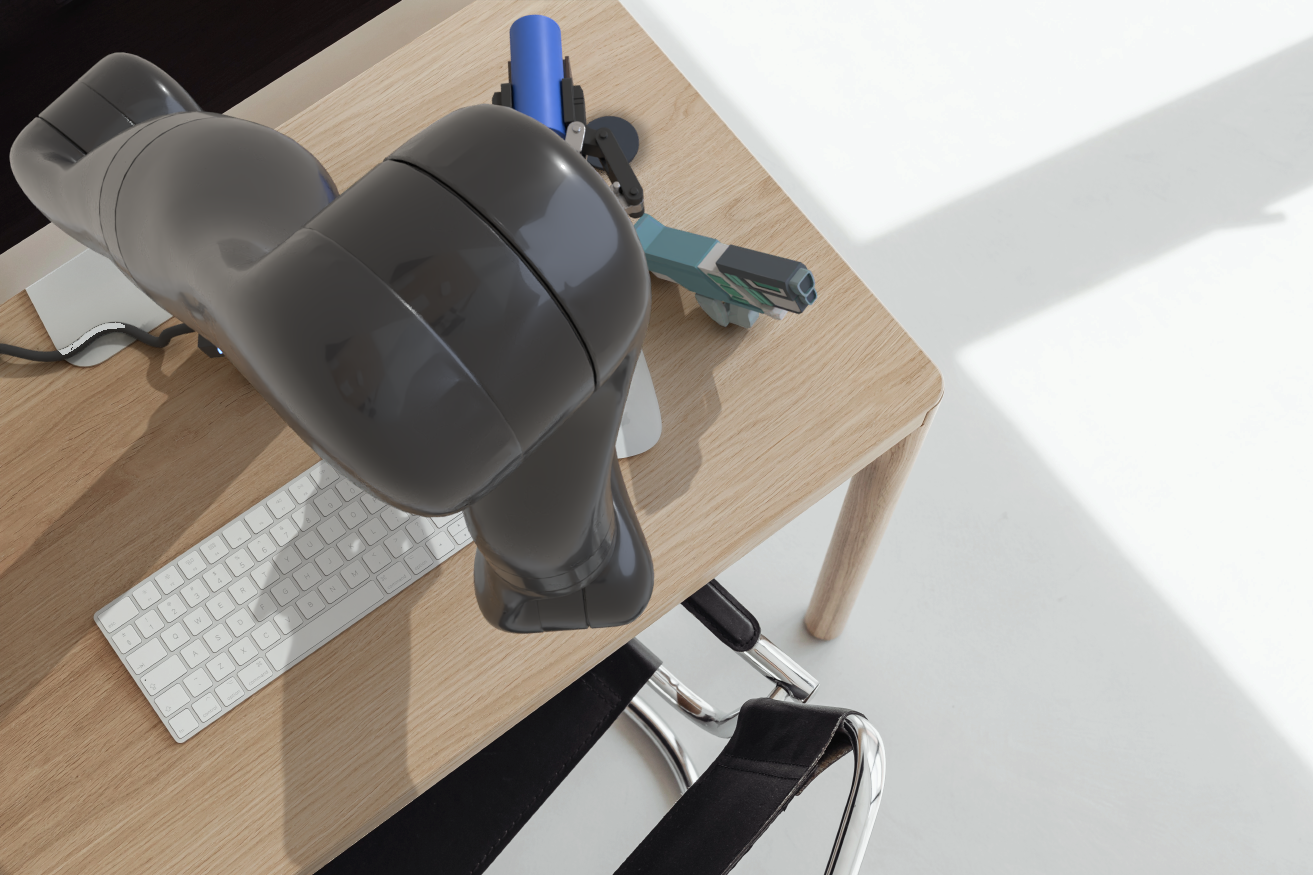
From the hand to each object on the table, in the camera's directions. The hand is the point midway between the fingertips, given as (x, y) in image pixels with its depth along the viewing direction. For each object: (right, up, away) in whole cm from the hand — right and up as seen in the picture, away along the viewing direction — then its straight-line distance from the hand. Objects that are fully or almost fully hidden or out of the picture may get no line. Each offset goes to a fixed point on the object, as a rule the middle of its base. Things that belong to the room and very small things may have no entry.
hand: (537, 89), depth 69 cm
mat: (+4, +3, +24) cm, 24 cm away
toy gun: (+13, -12, +19) cm, 26 cm away
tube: (0, 0, 0) cm, 0 cm away
